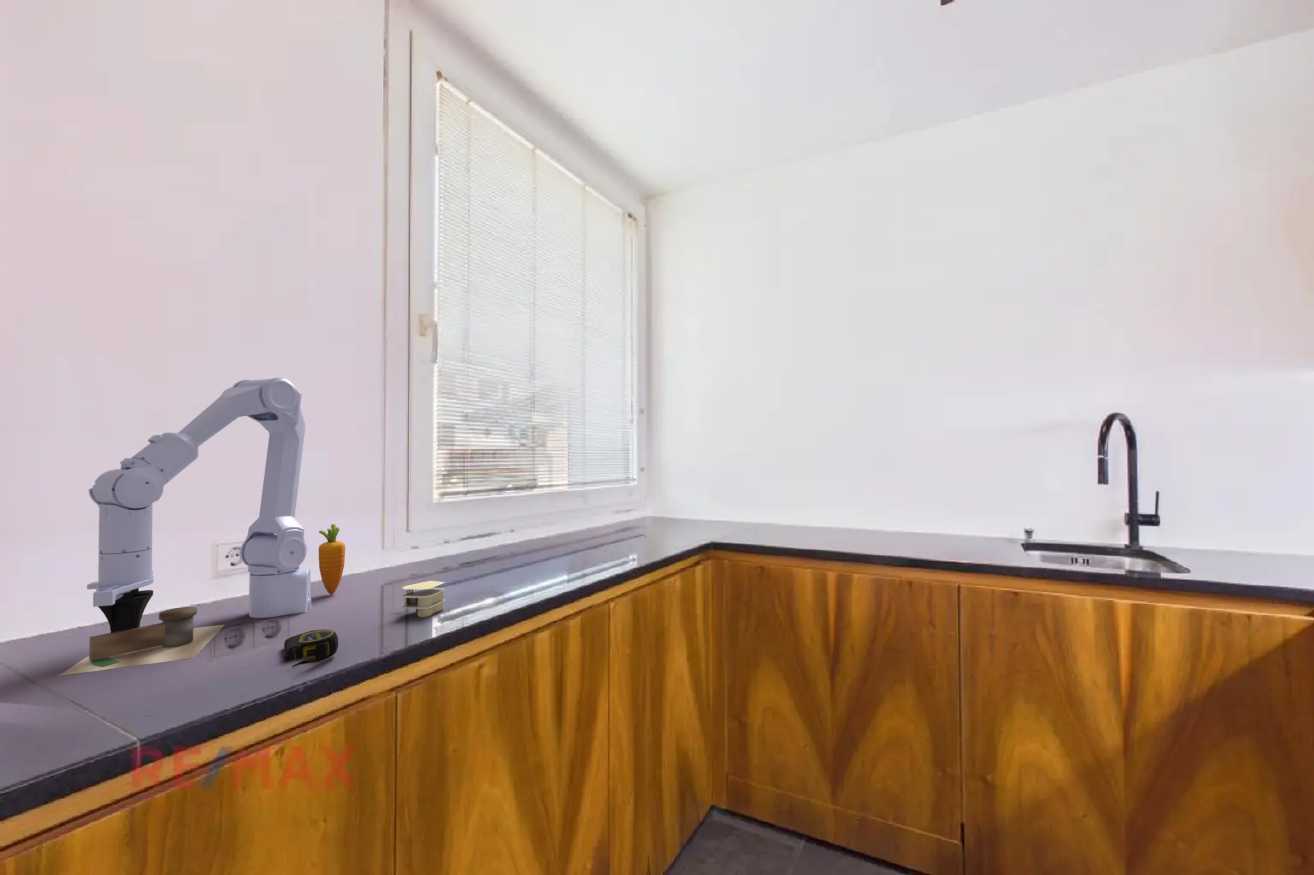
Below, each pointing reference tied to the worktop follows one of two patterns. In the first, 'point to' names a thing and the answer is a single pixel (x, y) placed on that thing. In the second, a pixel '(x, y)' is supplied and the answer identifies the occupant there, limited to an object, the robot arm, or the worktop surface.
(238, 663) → the worktop surface
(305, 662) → the tape measure
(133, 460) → the robot arm
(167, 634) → the dial pointer
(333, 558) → the carrot
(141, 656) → the dial board
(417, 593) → the stacked layers on plate
